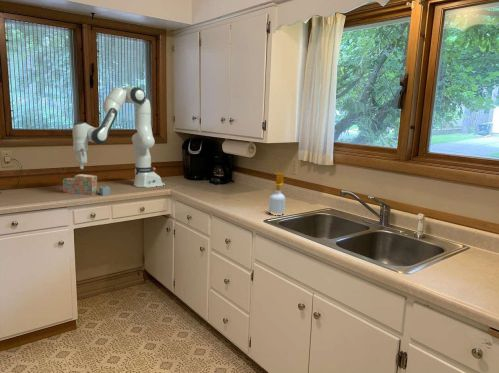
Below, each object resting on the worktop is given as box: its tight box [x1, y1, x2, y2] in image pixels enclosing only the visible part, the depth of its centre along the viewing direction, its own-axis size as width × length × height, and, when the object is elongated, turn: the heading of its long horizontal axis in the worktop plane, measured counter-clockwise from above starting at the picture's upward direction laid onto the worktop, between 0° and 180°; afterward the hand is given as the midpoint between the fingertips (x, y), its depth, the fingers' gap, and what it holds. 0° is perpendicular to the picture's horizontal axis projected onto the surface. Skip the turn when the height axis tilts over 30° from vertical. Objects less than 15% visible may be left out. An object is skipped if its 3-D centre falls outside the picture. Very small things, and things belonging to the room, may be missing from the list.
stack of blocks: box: [61, 173, 98, 196], centre depth 256 cm, size 21×6×12 cm, turn 79°
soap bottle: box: [268, 172, 286, 213], centre depth 224 cm, size 9×9×25 cm
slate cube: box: [98, 185, 111, 196], centre depth 256 cm, size 5×5×5 cm
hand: (81, 168), depth 254 cm, fingers closed
